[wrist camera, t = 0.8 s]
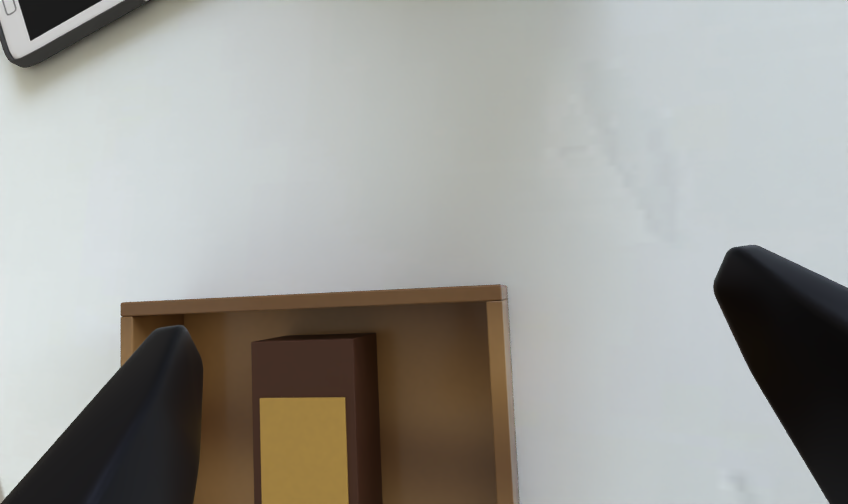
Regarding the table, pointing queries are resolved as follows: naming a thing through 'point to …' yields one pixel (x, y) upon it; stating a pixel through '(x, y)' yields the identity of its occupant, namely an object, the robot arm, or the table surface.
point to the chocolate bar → (316, 420)
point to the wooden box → (397, 384)
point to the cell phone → (53, 25)
